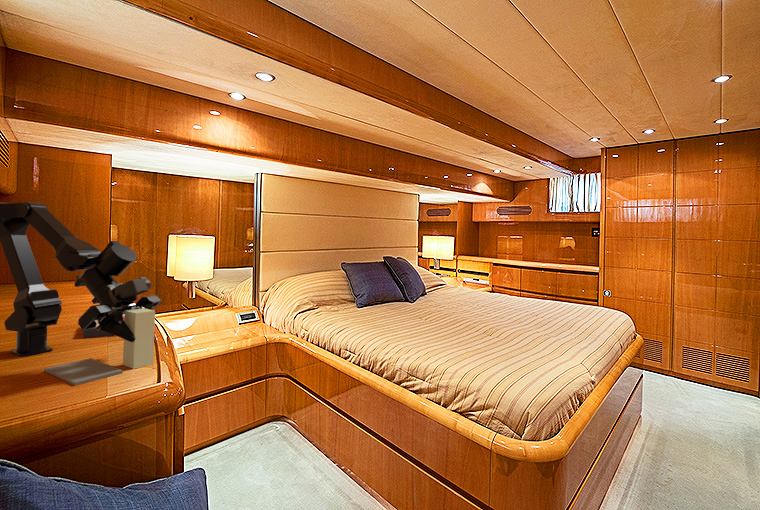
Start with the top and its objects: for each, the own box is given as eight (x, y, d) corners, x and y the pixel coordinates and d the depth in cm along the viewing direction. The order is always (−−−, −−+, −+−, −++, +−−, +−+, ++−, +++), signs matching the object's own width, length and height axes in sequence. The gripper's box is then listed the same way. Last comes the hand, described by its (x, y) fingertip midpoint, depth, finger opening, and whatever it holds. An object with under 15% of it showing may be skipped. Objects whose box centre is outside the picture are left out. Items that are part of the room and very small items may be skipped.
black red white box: (83, 326, 109) (90, 314, 121) (83, 341, 109) (89, 327, 122) (129, 324, 114) (130, 312, 127) (128, 337, 115) (130, 324, 128)
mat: (44, 371, 83) (44, 368, 83) (90, 360, 91) (90, 358, 91) (75, 385, 77) (75, 382, 77) (122, 372, 85) (122, 370, 84)
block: (122, 364, 89) (124, 310, 89) (142, 360, 93) (144, 308, 93) (133, 368, 87) (135, 313, 87) (153, 363, 91) (155, 310, 91)
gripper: (90, 269, 81) (134, 324, 79) (155, 264, 99) (192, 309, 98) (58, 302, 82) (101, 357, 81) (128, 292, 101) (164, 336, 99)
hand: (144, 337), depth 90 cm, fingers closed on block, 6 cm apart
